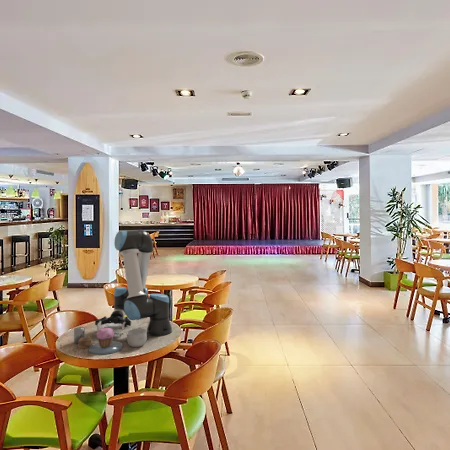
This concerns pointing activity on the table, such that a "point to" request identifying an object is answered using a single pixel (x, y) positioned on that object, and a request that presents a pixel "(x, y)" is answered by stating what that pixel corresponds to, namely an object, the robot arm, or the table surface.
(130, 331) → the teacup
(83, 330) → the metal tin
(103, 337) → the cupcake
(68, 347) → the table surface
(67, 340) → the table surface
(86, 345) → the walnut block
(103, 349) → the plate
